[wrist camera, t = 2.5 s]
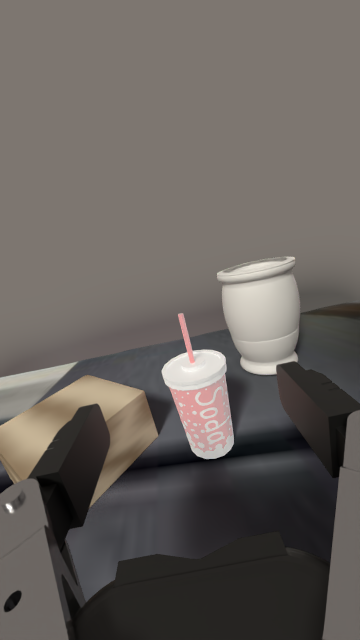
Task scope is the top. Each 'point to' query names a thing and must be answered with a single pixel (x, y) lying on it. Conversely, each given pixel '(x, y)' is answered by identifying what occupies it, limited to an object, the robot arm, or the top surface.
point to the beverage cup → (201, 398)
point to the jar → (262, 312)
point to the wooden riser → (54, 412)
